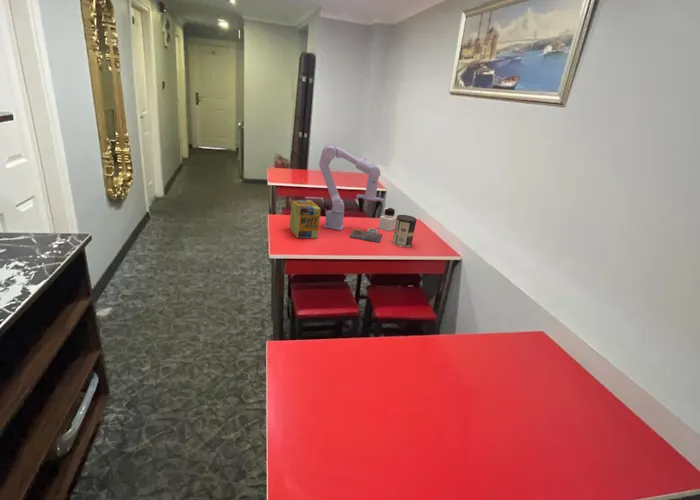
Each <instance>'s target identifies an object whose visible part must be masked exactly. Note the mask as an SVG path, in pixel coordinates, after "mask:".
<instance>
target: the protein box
mask: <svg viewBox="0 0 700 500" xmlns="http://www.w3.org/2000/svg"><path fill="white" fill-rule="evenodd" d="M290 205H291V206H290V217H289V218H290V220H289V229H290V231H291V232H292V233H293V234H294V235H295V237H296V238H297V239H317V238H319V237H318V235H319V229H320V228H319V226H320V219H321V217H320V216H321V207H319V206H318V204H316V203H315V202H314V201H312V200H311V199H291V204H290Z"/></svg>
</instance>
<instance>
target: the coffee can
mask: <svg viewBox="0 0 700 500" xmlns="http://www.w3.org/2000/svg"><path fill="white" fill-rule="evenodd" d="M417 220H418V219H417V218H416V217H414V216H411V215H408V214H397V215H396V223H395V228H394V229H393V230H394V231H393V237H392V241H391V242H392V244H394V245H396V246H398V247H403V248H410V247H412V246H413V245H412V243H413V239H414V233H415V230H416V229H415V228H416V225H417Z"/></svg>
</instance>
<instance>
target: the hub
mask: <svg viewBox="0 0 700 500" xmlns="http://www.w3.org/2000/svg"><path fill="white" fill-rule="evenodd" d="M366 232H367V236H366V237H369V238H374V239H376V238H377V235H378V234H379V229H377V228H371V227H368V228H367V231H366Z"/></svg>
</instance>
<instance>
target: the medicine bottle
mask: <svg viewBox="0 0 700 500" xmlns="http://www.w3.org/2000/svg"><path fill="white" fill-rule="evenodd" d="M395 211H396V210H395V209H394V208H392V207H385V208H384V209H383V214H382V215H381V216H379V222H378V229H380V230H383V231H385V232H390V231H393V230H395V225H396V219H397V216H395V213H396V212H395Z"/></svg>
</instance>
